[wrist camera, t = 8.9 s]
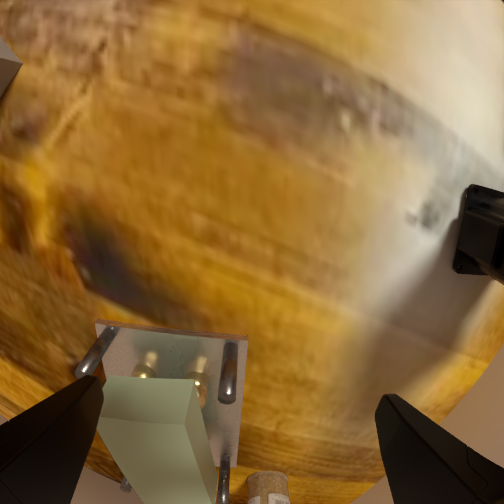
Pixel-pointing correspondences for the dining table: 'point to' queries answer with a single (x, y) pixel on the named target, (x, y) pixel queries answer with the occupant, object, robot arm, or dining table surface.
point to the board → (159, 439)
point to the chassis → (182, 376)
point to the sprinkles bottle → (268, 488)
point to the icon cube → (7, 65)
